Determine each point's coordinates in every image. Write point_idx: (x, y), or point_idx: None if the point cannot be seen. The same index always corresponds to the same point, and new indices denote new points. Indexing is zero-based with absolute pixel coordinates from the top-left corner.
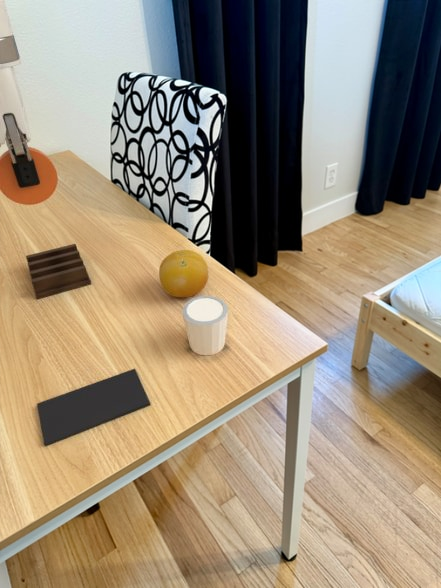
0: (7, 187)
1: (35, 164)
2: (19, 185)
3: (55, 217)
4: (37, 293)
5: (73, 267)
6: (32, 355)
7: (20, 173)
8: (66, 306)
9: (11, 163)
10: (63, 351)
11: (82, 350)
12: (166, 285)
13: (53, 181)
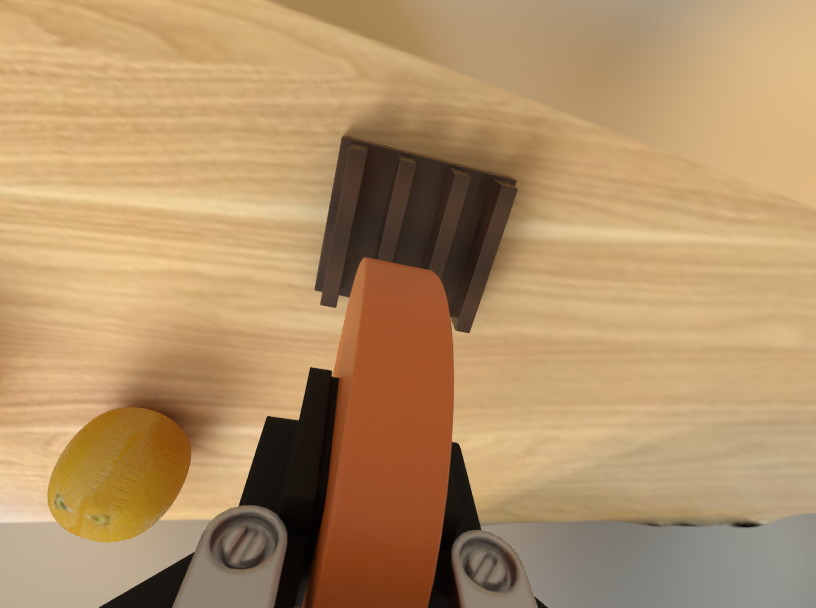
0: (353, 307)
1: None
2: (308, 376)
3: (720, 343)
4: (346, 145)
5: None
6: (84, 20)
7: (255, 460)
8: (258, 191)
9: (283, 497)
10: (61, 103)
11: (41, 147)
12: (94, 423)
13: None
